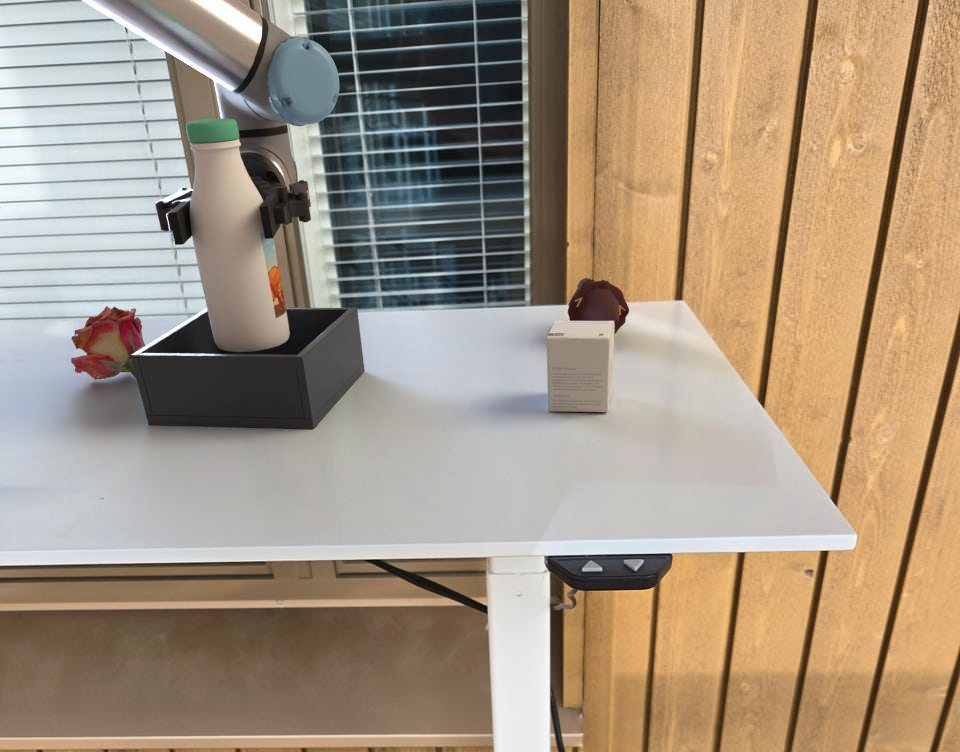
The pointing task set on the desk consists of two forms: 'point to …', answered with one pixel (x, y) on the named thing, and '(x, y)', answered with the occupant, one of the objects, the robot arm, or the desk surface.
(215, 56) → the robot arm
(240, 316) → the milk bottle
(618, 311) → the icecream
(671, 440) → the desk surface
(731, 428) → the desk surface
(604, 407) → the white cardboard box
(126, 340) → the flower
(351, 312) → the black open box
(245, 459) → the desk surface
